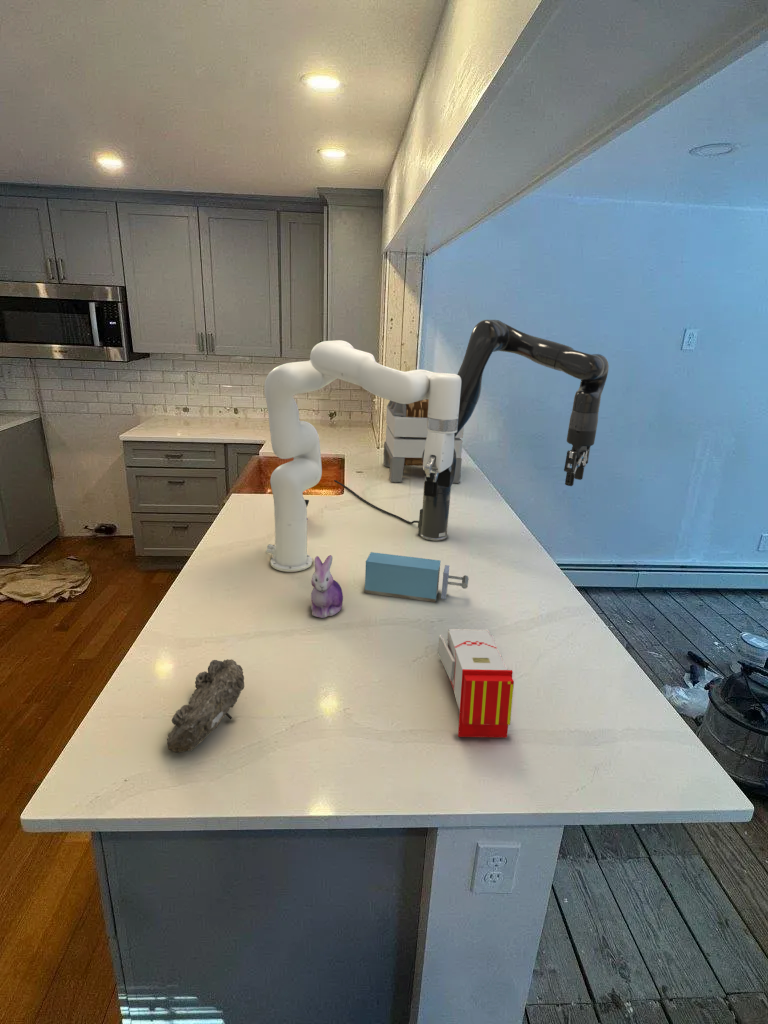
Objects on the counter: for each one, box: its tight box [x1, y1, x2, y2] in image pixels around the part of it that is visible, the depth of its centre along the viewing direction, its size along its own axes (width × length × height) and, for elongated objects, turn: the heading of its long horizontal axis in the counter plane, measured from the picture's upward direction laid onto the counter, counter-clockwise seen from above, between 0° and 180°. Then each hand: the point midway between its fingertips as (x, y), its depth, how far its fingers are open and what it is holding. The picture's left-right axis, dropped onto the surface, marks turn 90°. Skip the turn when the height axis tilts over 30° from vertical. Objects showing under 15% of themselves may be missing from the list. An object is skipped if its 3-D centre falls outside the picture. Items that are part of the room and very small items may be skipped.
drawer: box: [436, 564, 470, 600], centre depth 156 cm, size 24×5×8 cm, turn 79°
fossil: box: [166, 658, 245, 754], centre depth 106 cm, size 22×10×15 cm
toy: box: [437, 628, 515, 738], centre depth 117 cm, size 12×13×30 cm
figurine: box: [310, 554, 344, 618], centre depth 145 cm, size 9×10×15 cm
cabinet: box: [364, 551, 442, 603], centre depth 157 cm, size 20×6×10 cm, turn 79°
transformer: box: [383, 399, 465, 484], centre depth 268 cm, size 34×33×41 cm
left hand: (437, 491), depth 145 cm, fingers open, 9 cm apart
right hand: (573, 482), depth 165 cm, fingers open, 8 cm apart
